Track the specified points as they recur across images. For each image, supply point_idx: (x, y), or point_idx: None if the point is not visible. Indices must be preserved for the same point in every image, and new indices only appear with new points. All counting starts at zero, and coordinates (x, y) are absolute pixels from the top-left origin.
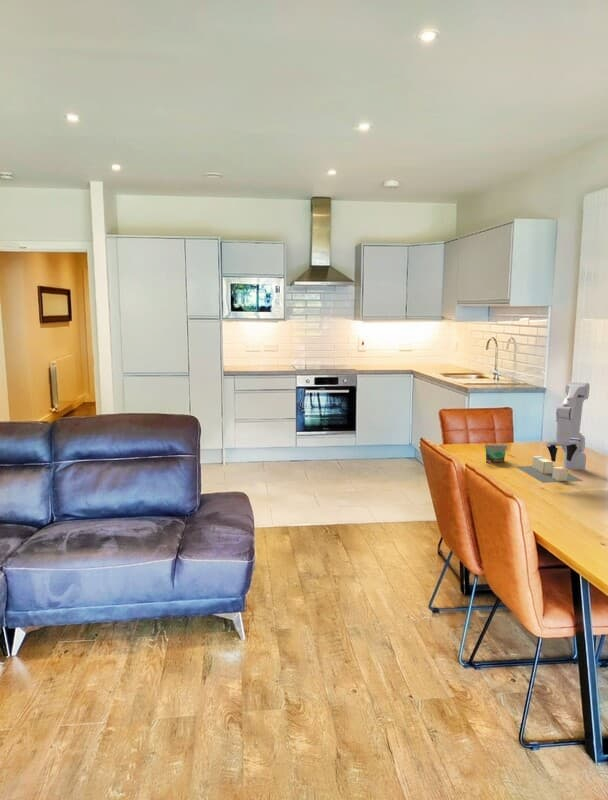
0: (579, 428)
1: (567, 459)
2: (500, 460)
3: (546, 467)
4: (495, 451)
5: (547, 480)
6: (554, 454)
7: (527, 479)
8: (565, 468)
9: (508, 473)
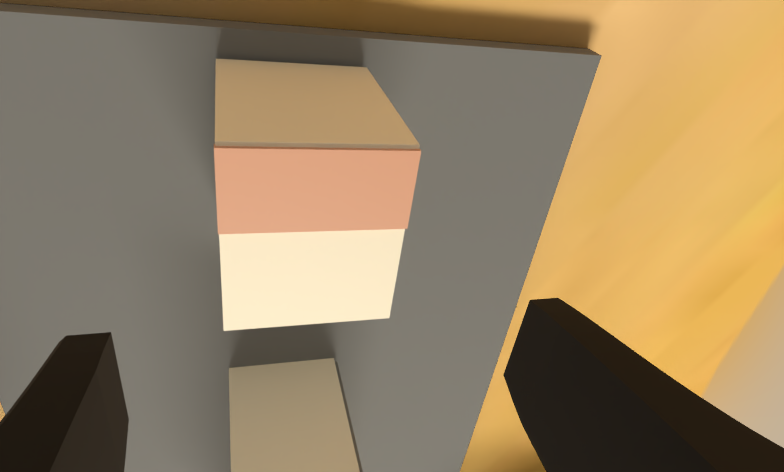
0: None
1: (123, 419)
2: None
3: (317, 421)
4: None
5: (478, 128)
6: (737, 437)
7: (592, 232)
8: (223, 210)
9: None
